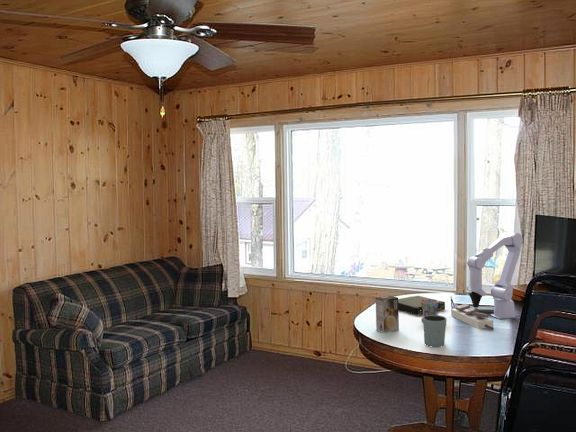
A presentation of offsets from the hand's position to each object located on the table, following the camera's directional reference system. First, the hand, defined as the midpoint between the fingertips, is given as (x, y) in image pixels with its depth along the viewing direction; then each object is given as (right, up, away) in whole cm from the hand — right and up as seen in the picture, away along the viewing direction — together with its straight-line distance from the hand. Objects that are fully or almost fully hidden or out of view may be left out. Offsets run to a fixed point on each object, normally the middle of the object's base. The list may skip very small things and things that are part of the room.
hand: (475, 307), depth 288 cm
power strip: (-2, -7, -3) cm, 8 cm away
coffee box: (-47, -9, -12) cm, 49 cm away
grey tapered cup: (-30, -11, -36) cm, 48 cm away
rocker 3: (-1, -3, -8) cm, 9 cm away
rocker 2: (-2, -3, 0) cm, 4 cm away
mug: (-22, -8, +3) cm, 24 cm away
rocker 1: (-4, -2, +7) cm, 9 cm away
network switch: (-23, -6, +28) cm, 37 cm away
